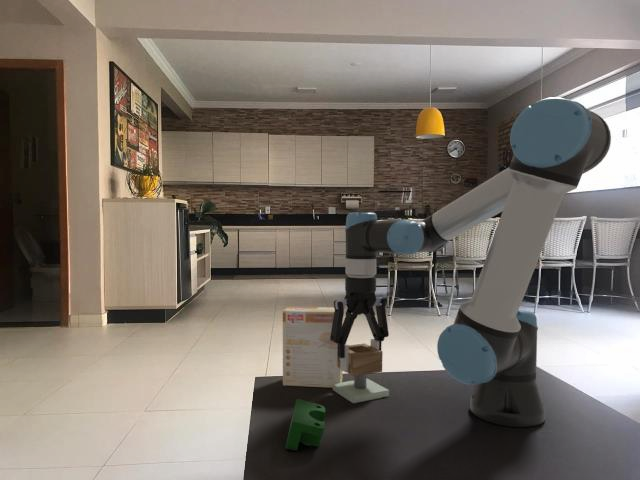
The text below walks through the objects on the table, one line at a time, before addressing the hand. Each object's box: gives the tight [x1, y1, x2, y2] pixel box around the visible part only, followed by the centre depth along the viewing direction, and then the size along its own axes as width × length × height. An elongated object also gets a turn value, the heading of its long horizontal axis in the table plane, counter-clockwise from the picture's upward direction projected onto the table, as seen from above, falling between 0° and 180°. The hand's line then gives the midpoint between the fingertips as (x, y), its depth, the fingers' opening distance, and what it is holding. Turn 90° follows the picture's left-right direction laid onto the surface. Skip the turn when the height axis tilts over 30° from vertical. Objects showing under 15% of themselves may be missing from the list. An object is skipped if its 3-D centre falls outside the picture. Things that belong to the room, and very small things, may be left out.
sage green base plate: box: [332, 374, 390, 404], centre depth 114 cm, size 10×10×10 cm
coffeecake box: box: [282, 306, 344, 389], centre depth 122 cm, size 15×7×20 cm, turn 82°
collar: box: [337, 343, 384, 377], centre depth 114 cm, size 8×8×5 cm
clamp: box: [285, 398, 326, 452], centre depth 89 cm, size 12×6×9 cm, turn 173°
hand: (359, 368), depth 114 cm, fingers closed on collar, 8 cm apart
